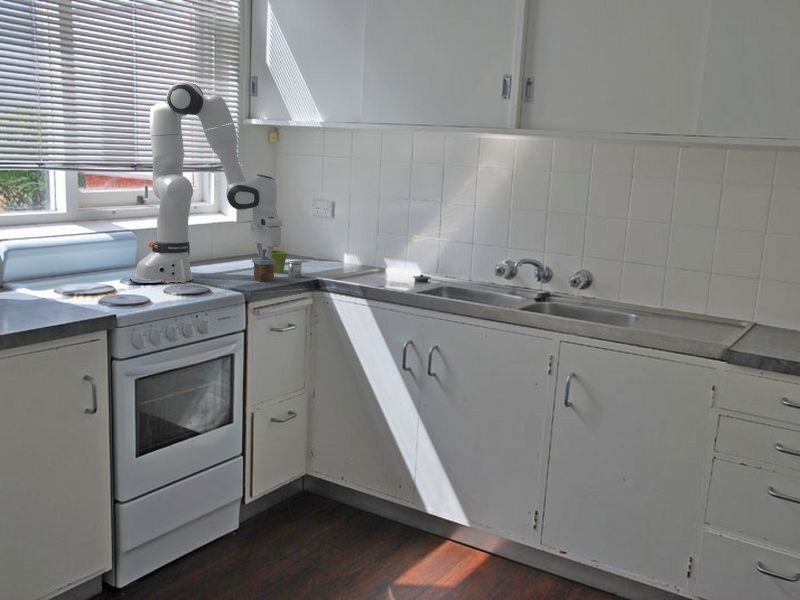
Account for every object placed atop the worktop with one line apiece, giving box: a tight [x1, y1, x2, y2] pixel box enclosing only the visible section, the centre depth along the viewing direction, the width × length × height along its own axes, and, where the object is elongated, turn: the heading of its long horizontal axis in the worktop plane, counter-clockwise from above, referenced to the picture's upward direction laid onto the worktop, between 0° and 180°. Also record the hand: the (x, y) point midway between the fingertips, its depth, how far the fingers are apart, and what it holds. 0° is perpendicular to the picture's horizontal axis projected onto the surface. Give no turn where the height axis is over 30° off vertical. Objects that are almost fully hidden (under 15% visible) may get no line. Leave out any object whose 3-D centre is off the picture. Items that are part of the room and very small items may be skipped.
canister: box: [253, 263, 275, 283], centre depth 317 cm, size 6×6×7 cm
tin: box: [287, 260, 303, 279], centre depth 328 cm, size 5×5×6 cm
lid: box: [251, 248, 276, 265], centre depth 316 cm, size 7×7×5 cm
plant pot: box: [271, 249, 289, 274], centre depth 337 cm, size 9×9×9 cm
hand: (264, 256), depth 316 cm, fingers open, 6 cm apart
